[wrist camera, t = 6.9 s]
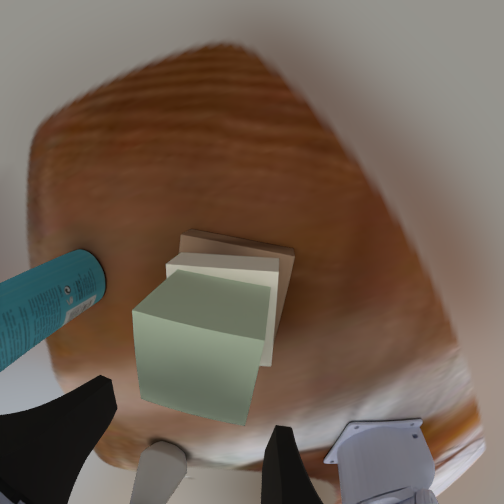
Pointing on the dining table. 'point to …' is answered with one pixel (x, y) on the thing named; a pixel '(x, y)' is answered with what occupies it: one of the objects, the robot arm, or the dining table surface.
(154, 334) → the sage cube
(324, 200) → the dining table surface
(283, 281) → the walnut slab
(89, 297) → the tube
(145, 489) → the salt shaker
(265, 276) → the cream slab
